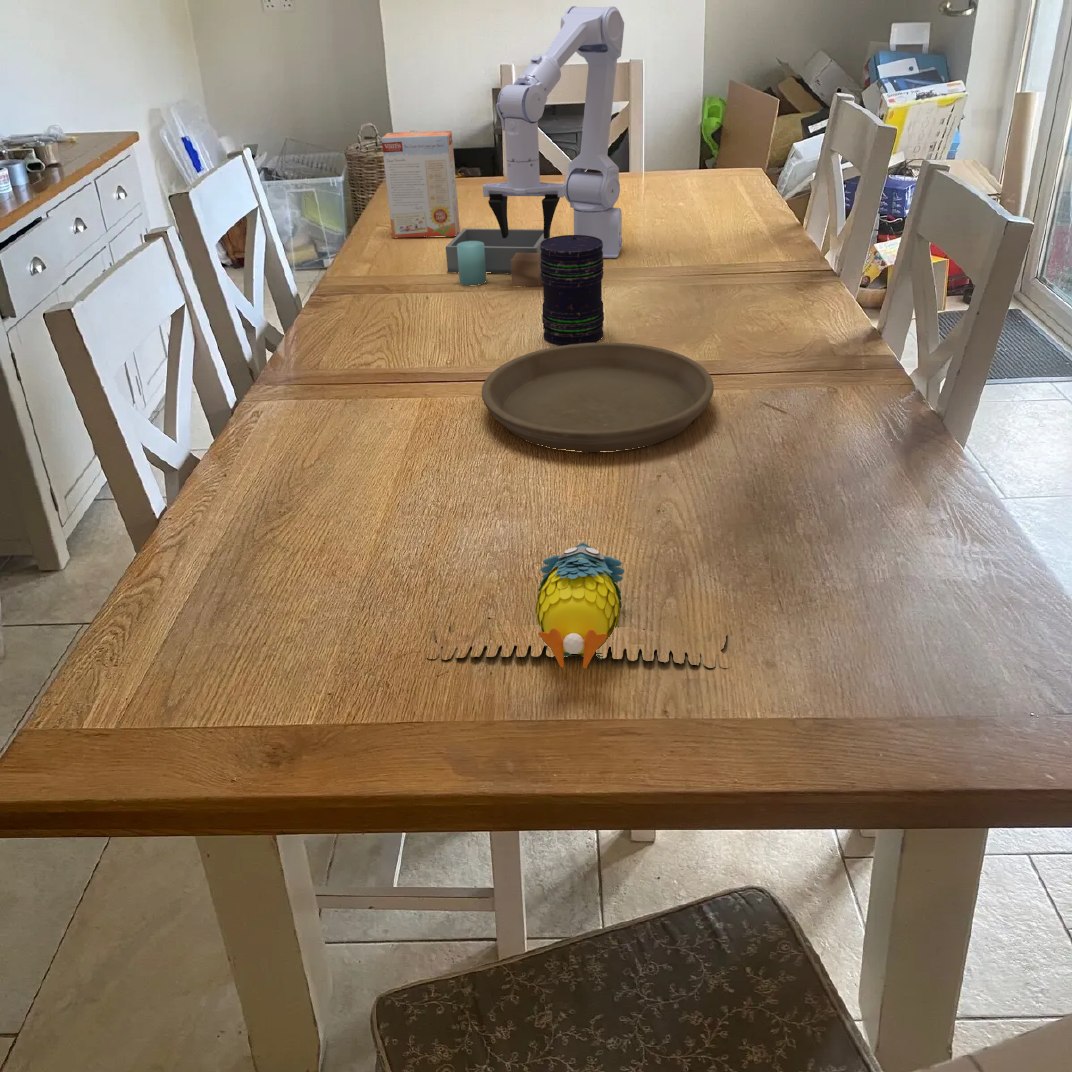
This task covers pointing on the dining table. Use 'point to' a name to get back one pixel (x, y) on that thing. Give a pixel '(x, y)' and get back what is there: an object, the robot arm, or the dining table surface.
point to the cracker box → (421, 183)
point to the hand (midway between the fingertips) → (526, 237)
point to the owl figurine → (578, 602)
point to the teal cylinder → (471, 262)
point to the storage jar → (572, 289)
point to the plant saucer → (598, 395)
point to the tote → (496, 246)
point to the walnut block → (526, 270)
